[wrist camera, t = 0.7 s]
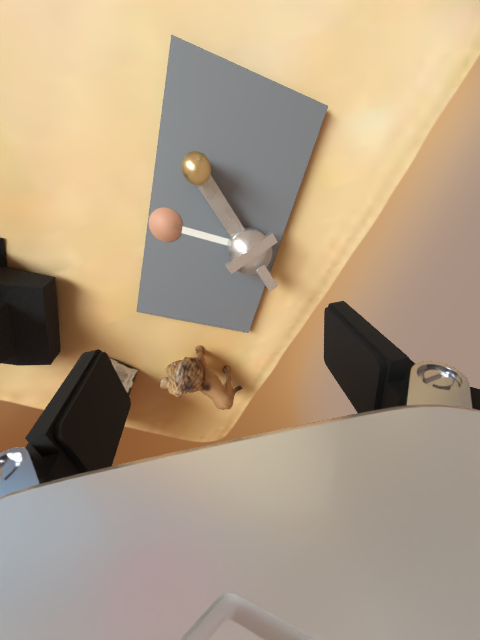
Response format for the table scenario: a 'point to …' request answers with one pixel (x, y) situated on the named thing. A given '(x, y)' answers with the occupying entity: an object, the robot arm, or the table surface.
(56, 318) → the camera
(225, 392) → the lion figurine
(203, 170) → the crank handle
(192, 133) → the base plate
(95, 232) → the table surface
